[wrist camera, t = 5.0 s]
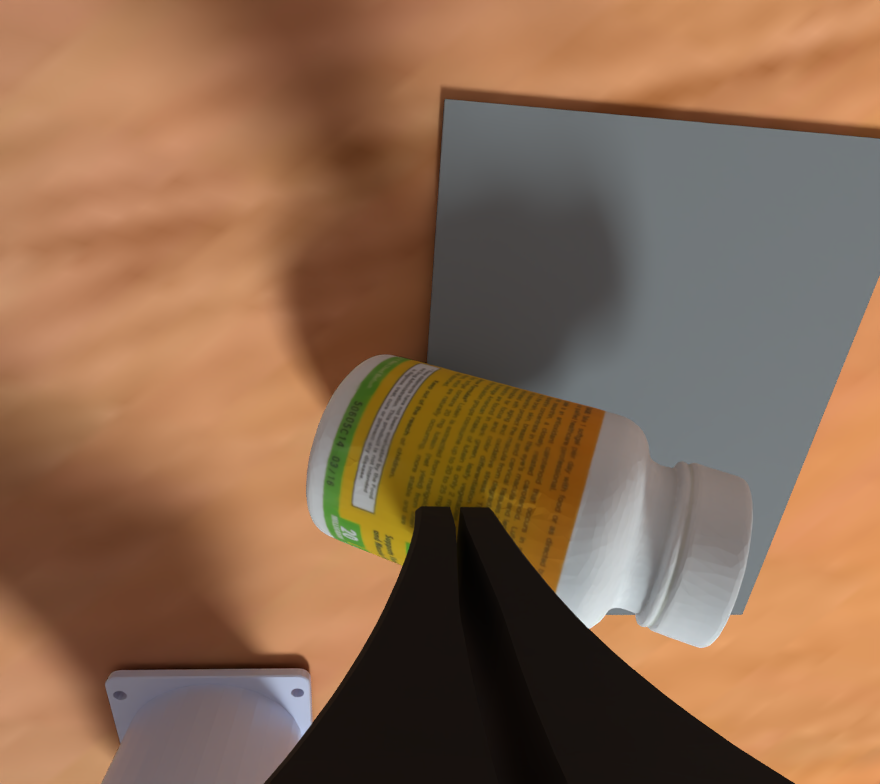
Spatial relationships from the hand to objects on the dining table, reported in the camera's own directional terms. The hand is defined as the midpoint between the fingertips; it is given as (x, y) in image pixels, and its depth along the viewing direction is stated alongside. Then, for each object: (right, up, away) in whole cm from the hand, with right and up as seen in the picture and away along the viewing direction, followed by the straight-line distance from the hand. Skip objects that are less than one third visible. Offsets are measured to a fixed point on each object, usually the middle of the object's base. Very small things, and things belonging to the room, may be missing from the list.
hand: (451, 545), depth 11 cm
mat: (+6, +2, +7) cm, 10 cm away
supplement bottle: (-3, +2, +4) cm, 5 cm away
